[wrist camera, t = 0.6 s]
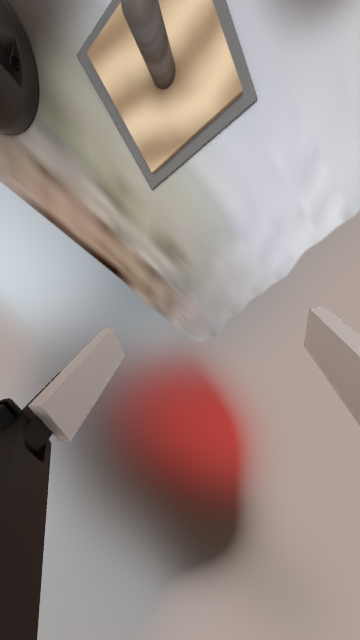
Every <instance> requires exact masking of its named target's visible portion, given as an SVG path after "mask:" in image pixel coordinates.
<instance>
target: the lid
mask: <svg viewBox="0 0 360 640" xmlns="http://www.w3.org/2000/svg"><path fill="white" fill-rule="evenodd" d="M87 55H88V57H89V58H90V60H91V62H92V64H93V66H94V68H95V69H96V71H97V73H98V75H99V77H100V79H101V80H102V82H103V84H104V86H105V88H106V90H107V91H108V93H109V95H110V97H111V99H112V101H113V102H114V104H115V106H116V108H117V110H118V112H119V113H120V115H121V117H122V119H123V121H124V123H125V124H126V126H127V128H128V130H129V132H130V134H131V135H132V137H133V139H134V141H135V143H136V145H137V146H138V148H139V150H140V152H141V154H142V155H143V157H144V159H145V161H146V163H147V165H148V166H149V168H150V170H151V172H152V173H153V174H154V173H155V172H156V171H157V170H158V169H160V168H161V167H162V166H163V165H164V164H165V163H166V162H167V161H168V160H170V159H171V158H172V157H173V156H174V155H175V154H176V153H177V152H178V151H180V150H181V149H182V148H183V147H184V146H185V145H186V144H187V143H188V142H190V141H191V140H192V139H193V138H194V137H195V136H196V135H197V134H198V133H200V132H201V131H202V130H203V129H204V128H205V127H206V126H207V125H208V124H210V123H211V122H212V121H213V120H214V119H215V118H216V117H217V116H218V115H220V114H221V113H222V112H223V111H224V110H225V109H226V108H227V107H228V106H230V105H231V104H232V103H233V102H234V101H235V100H236V99H237V98H238V97H240V96H241V95H242V91H243V89H242V86H241V83H240V80H239V77H238V74H237V71H236V68H235V65H234V62H233V60H232V57H231V54H230V51H229V48H228V45H227V42H226V39H225V36H224V33H223V30H222V27H221V24H220V21H219V19H218V16H217V13H216V10H215V7H214V4H213V1H212V0H121V2H120V4H119V5H118V7H117V8H116V10H115V11H114V13H113V14H112V16H111V17H110V19H109V20H108V22H107V23H106V25H105V26H104V28H103V29H102V31H101V32H100V34H99V35H98V37H97V38H96V40H95V41H94V43H93V44H92V46H91V47H90V49H89V50H88V52H87Z"/></svg>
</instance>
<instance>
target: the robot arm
mask: <svg viewBox="0 0 360 640" xmlns="http://www.w3.org/2000/svg"><path fill="white" fill-rule="evenodd" d="M37 103H38V77H37V70H36V65H35V60H34V56H33V53H32V49H31V46H30V43H29V41H28V38H27V36H26V33H25V31H24V29H23V27H22V25H21V23H20V21H19V19H18V17H17V16H16V14H15V12H14V11H13V9H12V8H11V6H10V5H9V4H8V2H7V1H6V0H0V133H2V134H7V135H15V134H19V133H21V132H23V131H24V130H25V129H27V127H28V126H29V125H30V124H31V122H32V120H33V118H34V116H35V113H36V109H37ZM304 346H305V348H306V349H307V351H308V352H309V354H310V355H311V357H312V358H313V359H314V361H315V362H316V363H317V365H318V367H319V368H320V370H321V371H322V372H323V374H324V375H325V377H326V378H327V380H328V381H329V382H330V384H331V385H332V387H333V388H334V390H335V391H336V393H337V394H338V395H339V397H340V398H341V399H342V401H343V403H344V404H345V405H346V407H347V408H348V410H349V411H350V413H351V414H352V415H353V417H354V418H355V420H356V421H357V422H358V424H359V426H360V335H358V334H357V333H356V332H355V331H353V330H352V329H351V328H350V327H349V326H347V325H346V324H345V323H344V322H342V321H341V320H340V319H339V318H338V317H336V316H335V315H334V314H333V313H331V312H330V311H329V310H328V309H327V308H325V307H315V308H309V314H308V321H307V329H306V335H305V342H304ZM124 356H125V355H124V353H123V351H122V349H121V346H120V344H119V342H118V339H117V337H116V335H115V332H114V330H113V328H104V329H103V330H102V331H101V332H100V333H99V334H98V335H97V336H96V337H95V338H94V339H93V340H92V341H91V342H90V343H89V344H88V345H87V346H86V347H85V348H84V349H83V350H82V351H81V352H80V353H79V354H78V355H77V356H76V357H75V358H74V359H73V360H72V361H71V362H70V363H69V364H68V366H66V368H65V369H64V370H63V371H61V372H60V373H58V374H57V375H56V376H55V377H54V378H53V379H52V380H51V382H49V383H48V384H47V385H46V386H45V388H43V389H42V390H41V391H40V393H38V394H37V395H36V396H35V397H34V399H32V400H31V402H30V403H28V405H27V406H26V407H25V408H24V409H23V410H21V409H20V408H19V407H18V406H17V405H16V404H15V403H14V401H13V400H11V399H10V398H9V399H3V400H1V401H0V640H37V631H38V618H39V604H40V591H41V576H42V562H43V550H44V536H45V523H46V509H47V495H48V481H49V468H50V454H51V442H50V440H49V438H50V436H51V435H52V434H53V435H55V437H56V438H57V439H58V440H61V441H71V440H72V438H73V437H74V435H75V433H76V432H77V430H78V429H79V427H80V426H81V424H82V422H83V421H84V419H85V418H86V416H87V415H88V413H89V411H90V410H91V408H92V407H93V405H94V404H95V402H96V400H97V399H98V397H99V396H100V394H101V392H102V391H103V389H104V388H105V386H106V384H107V383H108V381H109V380H110V378H111V377H112V375H113V373H114V372H115V370H116V369H117V367H118V366H119V364H120V362H121V361H122V359H123V358H124Z"/></svg>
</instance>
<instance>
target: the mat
mask: <svg viewBox="0 0 360 640" xmlns="http://www.w3.org/2000/svg"><path fill="white" fill-rule="evenodd" d="M212 1H213V4H214V7H215V10H216V13H217V16H218V19H219V21H220V24H221V27H222V30H223V33H224V36H225V39H226V42H227V45H228V48H229V51H230V54H231V57H232V60H233V62H234V65H235V68H236V71H237V74H238V77H239V80H240V83H241V86H242V89H243V91H242V95H241V96H240V97H238V98H237V99H236V100H235V101H234V102H233V103H232V104H231V105H230V106H228V107H227V108H226V109H225V110H224V111H223V112H222V113H221V114H220V115H218V116H217V117H216V118H215V119H214V120H213V121H212V122H211V123H210V124H208V125H207V126H206V127H205V128H204V129H203V130H202V131H201V132H200V133H198V134H197V135H196V136H195V137H194V138H193V139H192V140H191V141H190V142H188V143H187V144H186V145H185V146H184V147H183V148H182V149H181V150H180V151H178V152H177V153H176V154H175V155H174V156H173V157H172V158H171V159H170V160H168V161H167V162H166V163H165V164H164V165H163V166H162V167H161V168H160V169H158V170H157V171H156V172H155V173H154V174H153V173H152V172H151V170H150V168H149V166H148V165H147V163H146V161H145V159H144V157H143V155H142V154H141V152H140V150H139V148H138V146H137V145H136V143H135V141H134V139H133V137H132V135H131V134H130V132H129V130H128V128H127V126H126V124H125V123H124V121H123V119H122V117H121V115H120V113H119V112H118V110H117V108H116V106H115V104H114V102H113V101H112V99H111V97H110V95H109V93H108V91H107V90H106V88H105V86H104V84H103V82H102V80H101V79H100V77H99V75H98V73H97V71H96V69H95V68H94V66H93V64H92V62H91V60H90V58H89V57H88V55H87V52H88V50H89V49H90V47H91V46H92V44H93V43H94V41H95V40H96V38H97V37H98V35H99V34H100V32H101V31H102V29H103V28H104V26H105V25H106V23H107V22H108V20H109V19H110V17H111V16H112V14H113V13H114V11H115V10H116V8H117V7H118V5H119V4H120V2H121V0H112V2H111V3H110V5H109V6H108V8H107V9H106V11H105V12H104V14H103V15H102V17H101V18H100V20H99V21H98V23H97V25H96V26H95V28H94V29H93V31H92V32H91V34H90V35H89V37H88V38H87V40H86V41H85V43H84V44H83V46H82V48H81V49H80V51H79V52H78V54H77V57H78V59H79V61H80V63H81V64H82V66H83V68H84V70H85V71H86V73H87V75H88V77H89V79H90V80H91V82H92V84H93V86H94V87H95V89H96V91H97V93H98V95H99V96H100V98H101V100H102V102H103V103H104V105H105V107H106V109H107V111H108V112H109V114H110V116H111V118H112V119H113V121H114V123H115V125H116V127H117V128H118V130H119V132H120V134H121V135H122V137H123V139H124V141H125V143H126V144H127V146H128V148H129V150H130V151H131V153H132V155H133V157H134V159H135V160H136V162H137V164H138V166H139V167H140V169H141V171H142V173H143V175H144V176H145V178H146V180H147V182H148V183H149V185H150V187H151V189H152V190H153V189H154V188H156V187H157V186H158V185H159V184H160V183H161V182H163V181H164V180H165V179H166V178H167V177H168V176H170V175H171V174H172V173H173V172H174V171H175V170H176V169H178V168H179V167H180V166H181V165H182V164H183V163H185V162H186V161H187V160H188V159H189V158H190V157H192V156H193V155H194V154H195V153H196V152H197V151H199V150H200V149H201V148H202V147H203V146H204V145H206V144H207V143H208V142H209V141H210V140H211V139H213V138H214V137H215V136H216V135H217V134H218V133H220V132H221V131H222V130H223V129H224V128H225V127H227V126H228V125H229V124H230V123H231V122H232V121H234V120H235V119H236V118H237V117H238V116H239V115H241V114H242V113H243V112H244V111H245V110H246V109H248V108H249V107H250V106H251V105H252V104H253V103H255V102H256V101H257V95H256V92H255V89H254V86H253V83H252V80H251V77H250V73H249V70H248V67H247V64H246V61H245V58H244V55H243V52H242V49H241V46H240V42H239V39H238V36H237V33H236V30H235V27H234V24H233V21H232V18H231V15H230V12H229V8H228V5H227V2H226V0H212Z"/></svg>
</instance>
